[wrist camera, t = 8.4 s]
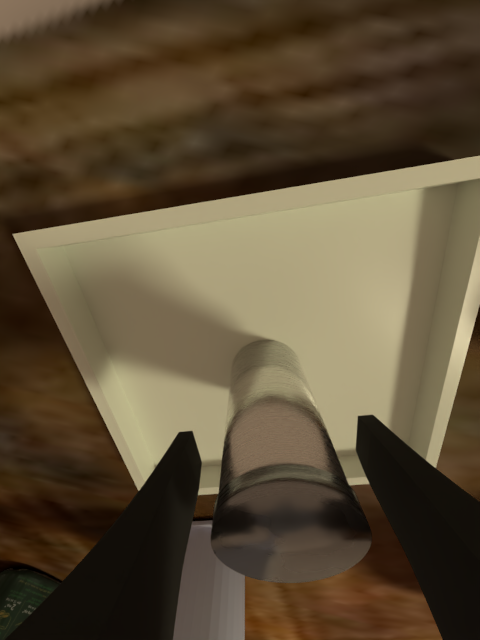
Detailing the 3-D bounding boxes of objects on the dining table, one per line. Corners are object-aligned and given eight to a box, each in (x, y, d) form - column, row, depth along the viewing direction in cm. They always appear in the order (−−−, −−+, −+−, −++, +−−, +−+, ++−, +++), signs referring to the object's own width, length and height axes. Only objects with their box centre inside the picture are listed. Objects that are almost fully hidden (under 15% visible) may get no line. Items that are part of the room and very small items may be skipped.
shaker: (241, 404, 16) (236, 588, 8) (220, 348, 15) (186, 509, 6) (307, 390, 16) (377, 574, 7) (293, 330, 14) (364, 481, 6)
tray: (154, 467, 20) (142, 498, 18) (54, 232, 13) (12, 234, 11) (409, 448, 19) (432, 479, 16) (464, 164, 11) (521, 148, 9)
